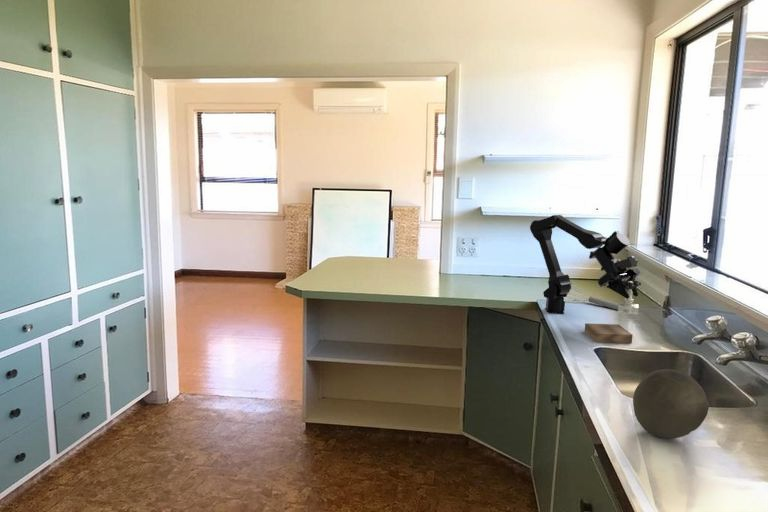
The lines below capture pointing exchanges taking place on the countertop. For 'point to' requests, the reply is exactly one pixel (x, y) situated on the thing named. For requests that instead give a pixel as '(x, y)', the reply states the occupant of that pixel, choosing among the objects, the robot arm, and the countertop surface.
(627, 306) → the valve
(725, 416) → the countertop surface
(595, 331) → the walnut plinth
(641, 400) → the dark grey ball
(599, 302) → the kitchen whisk
